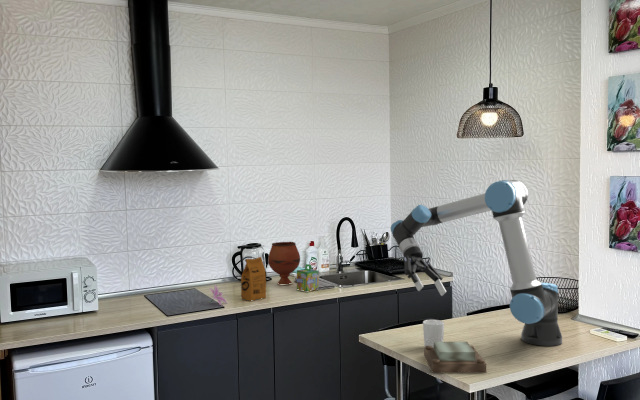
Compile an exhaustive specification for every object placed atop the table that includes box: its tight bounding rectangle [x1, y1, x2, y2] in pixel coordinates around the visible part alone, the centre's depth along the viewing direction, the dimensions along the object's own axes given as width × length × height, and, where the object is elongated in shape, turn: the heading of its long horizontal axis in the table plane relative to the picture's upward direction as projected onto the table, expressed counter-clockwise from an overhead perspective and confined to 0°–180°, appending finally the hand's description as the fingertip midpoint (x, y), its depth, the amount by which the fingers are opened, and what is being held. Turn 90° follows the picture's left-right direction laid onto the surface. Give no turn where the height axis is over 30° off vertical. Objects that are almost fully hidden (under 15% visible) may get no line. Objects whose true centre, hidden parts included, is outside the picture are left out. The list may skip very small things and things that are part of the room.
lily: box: [209, 283, 228, 306], centre depth 297 cm, size 12×12×10 cm
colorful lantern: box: [296, 263, 319, 291], centre depth 330 cm, size 9×9×15 cm
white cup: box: [422, 319, 445, 347], centre depth 221 cm, size 8×8×10 cm
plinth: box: [423, 341, 487, 374], centre depth 203 cm, size 18×18×6 cm
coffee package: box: [240, 256, 267, 302], centre depth 309 cm, size 10×12×22 cm
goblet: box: [267, 241, 301, 284], centre depth 348 cm, size 19×19×25 cm
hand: (432, 291), depth 229 cm, fingers open, 13 cm apart
